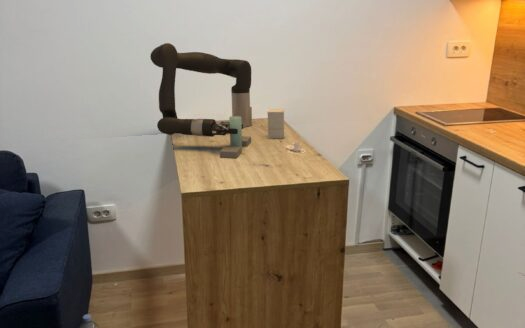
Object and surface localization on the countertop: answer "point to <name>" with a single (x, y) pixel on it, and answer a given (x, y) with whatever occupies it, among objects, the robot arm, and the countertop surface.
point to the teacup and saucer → (295, 148)
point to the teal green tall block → (237, 138)
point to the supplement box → (276, 123)
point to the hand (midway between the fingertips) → (240, 129)
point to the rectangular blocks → (235, 149)
